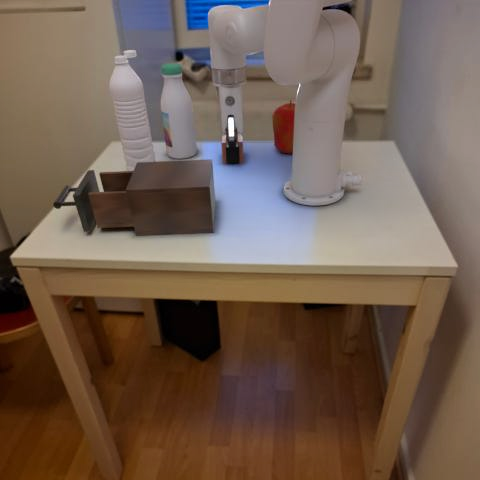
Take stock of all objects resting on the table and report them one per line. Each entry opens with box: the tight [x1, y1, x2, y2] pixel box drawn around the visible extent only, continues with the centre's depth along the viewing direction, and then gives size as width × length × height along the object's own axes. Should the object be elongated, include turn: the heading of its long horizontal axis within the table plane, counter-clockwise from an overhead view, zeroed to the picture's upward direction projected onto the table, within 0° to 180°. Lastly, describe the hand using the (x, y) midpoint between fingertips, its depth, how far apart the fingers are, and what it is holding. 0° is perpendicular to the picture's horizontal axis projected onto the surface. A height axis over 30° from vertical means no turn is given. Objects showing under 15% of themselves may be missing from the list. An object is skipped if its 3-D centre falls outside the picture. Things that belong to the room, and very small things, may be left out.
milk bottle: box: [159, 62, 198, 160], centre depth 104 cm, size 8×8×20 cm
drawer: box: [52, 169, 134, 233], centre depth 83 cm, size 18×11×7 cm, turn 91°
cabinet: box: [126, 159, 216, 237], centre depth 83 cm, size 15×12×9 cm
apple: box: [271, 99, 295, 155], centre depth 106 cm, size 9×8×12 cm
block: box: [221, 134, 244, 164], centre depth 106 cm, size 5×5×5 cm
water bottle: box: [108, 49, 157, 171], centre depth 92 cm, size 9×6×25 cm
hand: (233, 157), depth 107 cm, fingers closed on block, 5 cm apart
